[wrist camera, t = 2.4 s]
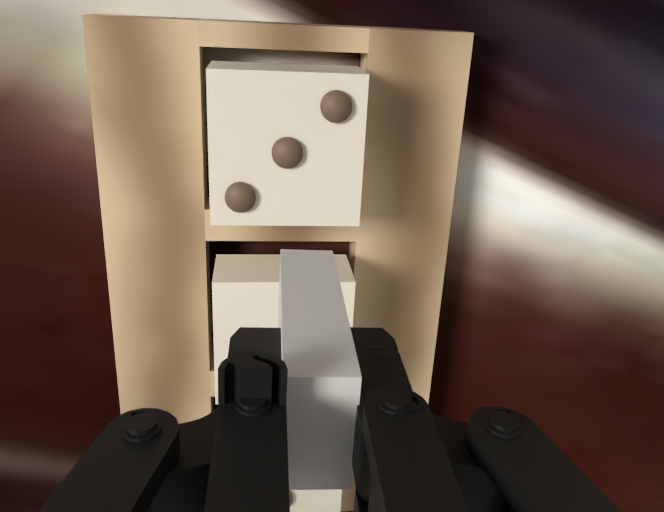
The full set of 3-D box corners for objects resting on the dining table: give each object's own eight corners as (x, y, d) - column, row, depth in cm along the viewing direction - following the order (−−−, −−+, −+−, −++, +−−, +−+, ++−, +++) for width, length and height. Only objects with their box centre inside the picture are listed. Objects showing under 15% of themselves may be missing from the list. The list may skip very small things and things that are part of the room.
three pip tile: (214, 202, 28) (209, 226, 25) (211, 60, 26) (205, 68, 22) (349, 203, 28) (360, 227, 25) (357, 66, 26) (370, 74, 23)
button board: (137, 494, 36) (130, 521, 34) (94, 13, 27) (82, 14, 25) (407, 483, 38) (415, 507, 36) (460, 30, 28) (474, 32, 27)
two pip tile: (219, 366, 31) (214, 406, 28) (216, 254, 29) (211, 284, 26) (339, 364, 32) (348, 403, 29) (346, 254, 29) (356, 284, 26)
